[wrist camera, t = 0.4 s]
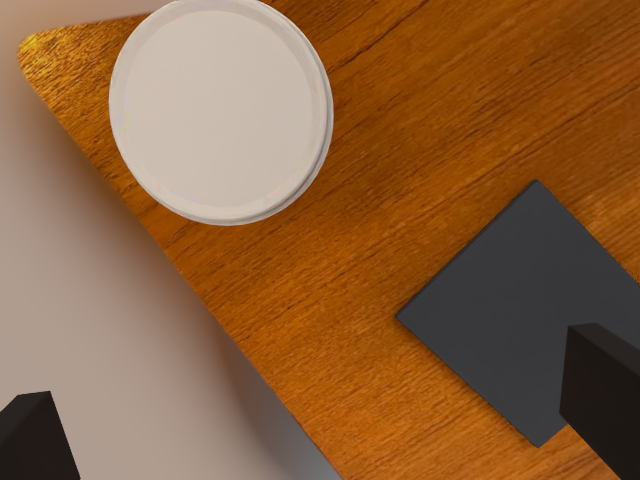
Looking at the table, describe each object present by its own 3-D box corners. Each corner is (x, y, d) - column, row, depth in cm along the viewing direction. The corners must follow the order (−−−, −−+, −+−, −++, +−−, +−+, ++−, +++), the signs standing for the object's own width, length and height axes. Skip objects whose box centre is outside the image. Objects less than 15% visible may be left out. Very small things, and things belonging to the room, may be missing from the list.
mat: (533, 179, 27) (538, 179, 27) (674, 325, 29) (681, 328, 29) (394, 314, 29) (395, 317, 29) (534, 443, 31) (538, 449, 31)
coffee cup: (171, 113, 27) (52, 69, 15) (286, 39, 26) (253, -69, 14) (243, 227, 28) (185, 268, 17) (354, 161, 27) (376, 154, 16)
